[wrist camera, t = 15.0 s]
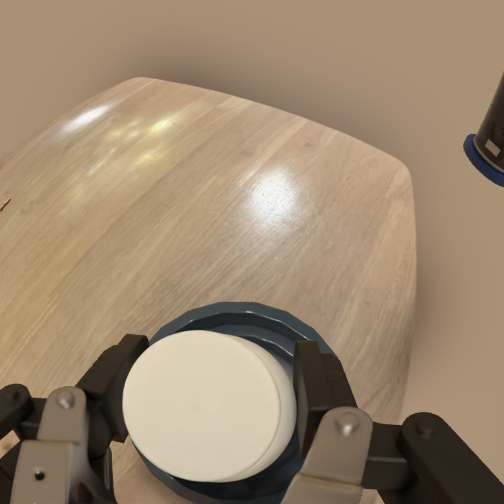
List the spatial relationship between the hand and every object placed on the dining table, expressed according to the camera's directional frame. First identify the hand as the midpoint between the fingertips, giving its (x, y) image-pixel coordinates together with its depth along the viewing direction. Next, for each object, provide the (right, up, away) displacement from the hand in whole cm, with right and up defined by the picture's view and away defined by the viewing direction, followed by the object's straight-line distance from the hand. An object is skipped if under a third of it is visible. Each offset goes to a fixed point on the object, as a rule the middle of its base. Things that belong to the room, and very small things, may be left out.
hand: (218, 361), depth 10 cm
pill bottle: (0, -5, +5) cm, 7 cm away
